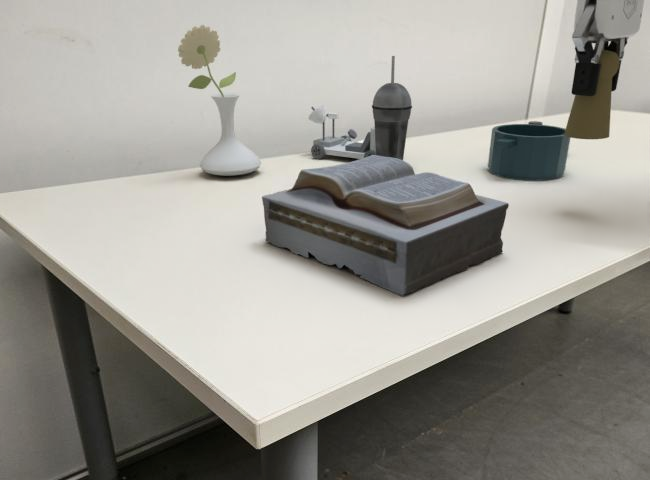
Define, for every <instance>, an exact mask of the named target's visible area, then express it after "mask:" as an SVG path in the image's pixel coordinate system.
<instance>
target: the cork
mask: <svg viewBox="0 0 650 480" xmlns="http://www.w3.org/2000/svg"><path fill="white" fill-rule="evenodd" d="M598 63H600V64H601V68H600V74H599V79H598V85H597V91H596V94H595V95H594V96H582V95H574V98H573V102H572V106H571V110H570V113H569V116H568V118H567V122H566V127H565V129H566V130H565V133H564V135H565V136H567V137H571V138H570V139H577V140H604V139H608V138H610V129H611V109H612V92H613V91H612V77H613V76H614V75H615V74H616V73H617V70H618V68H619V56H618V54H617V53H615V52H612V51H607V50H602V51H601V54H600V58H599V61H598Z"/></svg>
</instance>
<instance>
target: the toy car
mask: <svg viewBox="0 0 650 480" xmlns="http://www.w3.org/2000/svg"><path fill="white" fill-rule="evenodd" d="M310 109H311V110H312V111H311V113H310V114H309V115H308V118H307V119H308V120H309V121H311V122H313V123H315V124H320V125H321V124H322V137H321V138H318V139H314V140H313V141H312V143H313V145H312V146H311V148H310V153H311V156H312V157H313V159H315V160H316V159H317V160H320V159H323V158H324V157H325V155H328V156H335V157H342V158H349V159H350V158H352V159H357V160H359V159H363V158H366V157H369V156H371V155H376V143H375V126H374V127H370V131H368V132H367V133H366V135H365V138H364V139H361V140H358V141H352V140H355V139H356V138H358V134H357V132H356V131H355V130H354V129H353V128H351V129H349V130H348V131H347V135H341V136H335V120H339V119H340V114H339V113H338V112H328V113H326V109H325V106H324V105H321V106H318V107H316V108H315V107H314V106H311V107H310ZM327 118H328V119H331V121H332V122H331V123H332V127H331V128H332V130H331V131H332V134H331V135H332V136H331V135H328V136H325V135H326V134H325V132H326V131H325V129H326V128H325V126H326V125H325V124H326V119H327Z"/></svg>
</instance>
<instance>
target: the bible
mask: <svg viewBox="0 0 650 480" xmlns="http://www.w3.org/2000/svg"><path fill="white" fill-rule="evenodd" d="M261 200H262V206H263V215H264V216H263V217H264V225H265V242H267V243H270V244H271V245H272V246H273V245H274V246H276V247H279V248H286V249H288V250H290V253H292V254H294V255H296V256H298V255H301V256H302V257H304V258H307V259H309V254H311V256H313V257H314V258H315V259H316V260H317V261H318V262H319V263H322V264H324V265H327V266H333V265H335V266H336V267H337V268H338V269H342V268H343V267H344V266H345V267H346V268H348V269H349V270H351V271H353V273H354V275H358V276H359V278H361V279H363V280H366V281H368V282H370V283H371V284H372V285H376V286H378V287H380V288H383V289H385V290H387V291H390V292H392V293H394V294H396V295H398V296H400V297H402V298H404V297H405V295H406V294H407V295H408V294H411V293H413V292H416V291H417V290H420V289H422V288H423V287H425V286H430V285H433V284H436V283H437V282H438V281H440V280H443V279H445V278H446V277H448V276H450V277H451V276H452V275H455V274H456V273H461V272H465V271H467V270H469V266H471V265H473V266H474V265H478V264H482V263H483V262H484V261H486V260H489V259H492V257H494V256H496V255H498V254H500V253H503V252H504V251H503V246H504V241H503V239H502V231H503V228H504V225H505V221H506V217H507V210H508V209H509V206H510V205H509V203H508V202H506V201H502V200H499V199H495V198H490V197H486V196H482V195H479V194H476V193H475V191H474V189H473V187H472V185H471V184H470V183H469V182H464V181H462V180H461V181H460V180H458V179H457V180H456V179H453V178H449V177H447V176H443V175H439V174H437V173H434V172H420V173H415V170H414V168H413V166H412V165H411V164H410V163H409V162H407V161H405V160H404V159H403V160H400V159H397V158H391V157H383V156H377V155H371V156H369V157H366V158H363V159H356V160H353V161H350V162H346V163H345V162H344V163H340V164H335V165H330V166H323V167H316V168H315V167H314V168H304V169H301V170H300V172H299V173H298V175H297V179H296V180H295V182H294V184H293V186H292V188H288V189H284V190H281V191H277V192H273V193H268V194H265V195H263V196H261Z"/></svg>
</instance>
